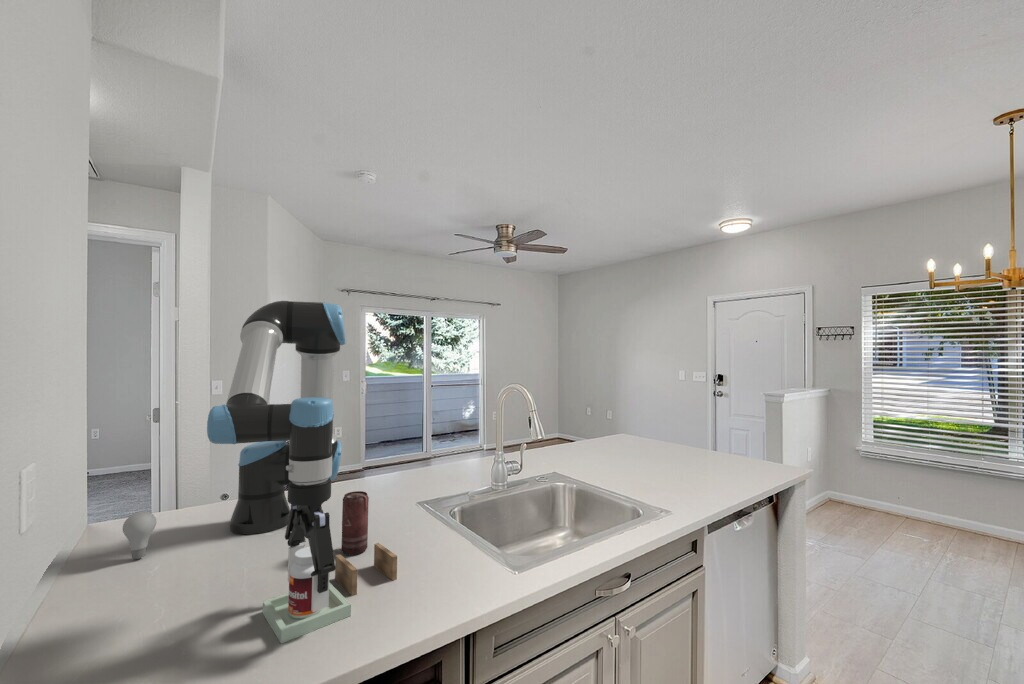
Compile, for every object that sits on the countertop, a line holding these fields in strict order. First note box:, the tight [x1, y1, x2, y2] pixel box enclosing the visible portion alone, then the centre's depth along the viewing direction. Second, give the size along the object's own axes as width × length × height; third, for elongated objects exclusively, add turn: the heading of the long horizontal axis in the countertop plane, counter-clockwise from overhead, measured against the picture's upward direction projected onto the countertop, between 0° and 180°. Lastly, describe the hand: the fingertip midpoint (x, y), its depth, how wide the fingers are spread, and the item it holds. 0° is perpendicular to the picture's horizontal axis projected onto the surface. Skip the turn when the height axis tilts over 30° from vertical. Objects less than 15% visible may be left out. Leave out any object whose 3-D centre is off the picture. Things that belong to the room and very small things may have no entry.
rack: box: [334, 542, 398, 596], centre depth 96 cm, size 9×10×5 cm
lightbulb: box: [122, 510, 157, 560], centre depth 104 cm, size 6×6×11 cm
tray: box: [262, 581, 352, 644], centre depth 83 cm, size 12×12×2 cm
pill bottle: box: [288, 546, 322, 619], centre depth 83 cm, size 6×6×11 cm
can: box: [340, 490, 370, 557], centre depth 110 cm, size 6×6×14 cm
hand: (307, 593), depth 83 cm, fingers open, 13 cm apart
